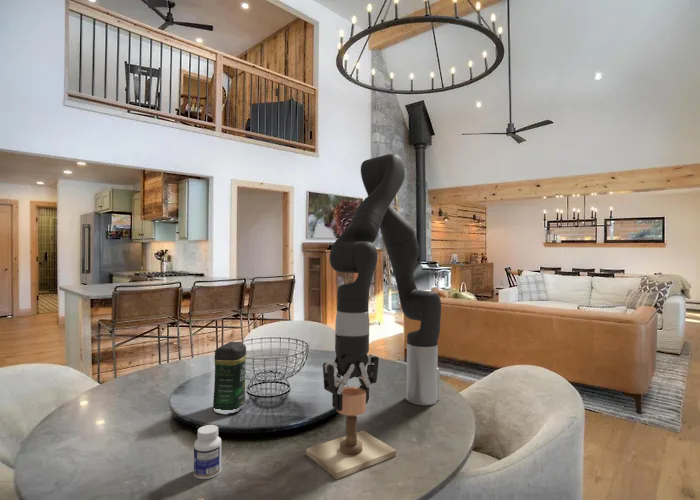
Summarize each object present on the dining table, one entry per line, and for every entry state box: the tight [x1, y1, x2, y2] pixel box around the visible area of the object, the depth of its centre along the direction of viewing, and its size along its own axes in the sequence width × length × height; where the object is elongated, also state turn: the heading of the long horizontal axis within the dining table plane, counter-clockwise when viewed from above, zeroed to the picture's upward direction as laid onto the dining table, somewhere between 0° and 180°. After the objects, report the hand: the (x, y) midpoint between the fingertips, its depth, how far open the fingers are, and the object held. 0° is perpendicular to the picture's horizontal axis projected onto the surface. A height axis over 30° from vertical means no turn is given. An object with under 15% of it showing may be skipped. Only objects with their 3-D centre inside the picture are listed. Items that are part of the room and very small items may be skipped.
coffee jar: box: [212, 341, 247, 410], centre depth 114 cm, size 10×8×19 cm
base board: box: [305, 430, 397, 480], centre depth 89 cm, size 16×12×1 cm
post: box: [340, 415, 362, 455], centre depth 89 cm, size 5×5×7 cm
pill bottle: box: [193, 424, 223, 480], centre depth 82 cm, size 5×5×9 cm
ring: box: [336, 386, 367, 416], centre depth 89 cm, size 6×6×4 cm
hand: (350, 406), depth 89 cm, fingers closed on ring, 6 cm apart
